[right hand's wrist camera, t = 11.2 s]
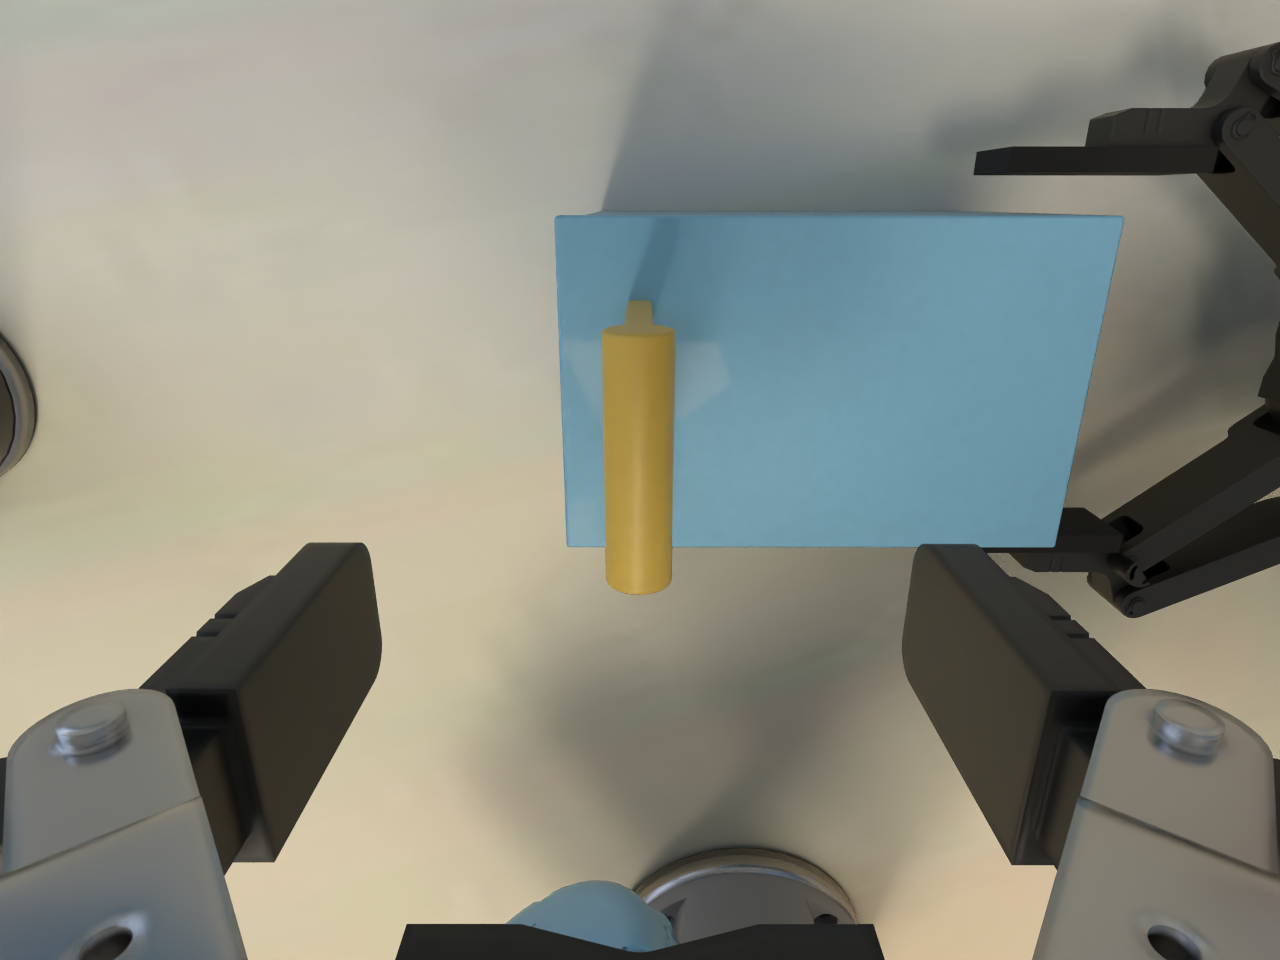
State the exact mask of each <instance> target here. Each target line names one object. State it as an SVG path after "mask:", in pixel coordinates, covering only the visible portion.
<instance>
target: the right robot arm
mask: <svg viewBox="0 0 1280 960" xmlns="http://www.w3.org/2000/svg"><path fill="white" fill-rule="evenodd" d="M34 422H35V411H34V402H33V397H32V393H31V389H30V386H29V383H28V380H27V378H26V375H25V373H24V371H23V369H22V367H21V365H20V363H19V362H18V360H17V358H16V357H15V355H14V354H13V352H12V351H11V350H10V348H9V347H8V345H7V344H6V343H5V342H4V341H3V339H2V338H1V337H0V476H1V475H2V474H4V473H6V472H7V471H9V470H10V469H11V468H12V467H14V466H15V465H16V464H17V463H18V461H19V460H20V459H21V458H22V456H23V455H24V454H25V452H26V450H27V448H28V446H29V444H30V441H31V438H32V434H33V430H34ZM1070 617H1071V616H1070V615H1069V614H1068V613H1067V612H1066V611H1065V610H1064V609H1063V608H1062V607H1061V606H1060V605H1059V604H1058V603H1057V602H1056V601H1055V600H1053V599H1052V598H1051V597H1050V596H1049V595H1048V594H1046V593H1044V592H1042V591H1041V590H1039V589H1037V588H1035V587H1033V586H1031V585H1029V584H1028V583H1026V582H1024V581H1022V580H1020V579H1018V578H1016V577H1009V576H1008V575H1007V574H1006V573H1005V572H1004V571H1003V570H1002V569H1001V568H1000V567H999V566H998V565H997V564H996V563H995V562H994V561H993V560H992V559H991V558H990V557H989V556H988V555H987V554H986V553H985V552H984V551H983V550H982V548H981V547H979V546H978V545H976V544H921V545H920V546H919V547H918V549H917V551H916V553H915V556H914V561H913V567H912V574H911V581H910V588H909V595H908V602H907V609H906V616H905V624H904V631H903V639H902V655H903V663H904V668H905V672H906V675H907V678H908V681H909V683H910V684H911V686H912V688H913V690H914V692H915V693H916V695H917V697H918V699H919V701H920V702H921V704H922V706H923V708H924V709H925V711H926V713H927V715H928V717H929V718H930V720H931V722H932V724H933V726H934V727H935V729H936V731H937V733H938V734H939V736H940V738H941V740H942V742H943V743H944V745H945V747H946V749H947V750H948V752H949V754H950V756H951V758H952V759H953V761H954V763H955V765H956V767H957V768H958V770H959V772H960V774H961V775H962V777H963V779H964V781H965V783H966V784H967V786H968V788H969V790H970V791H971V793H972V795H973V797H974V799H975V800H976V802H977V804H978V806H979V808H980V809H981V811H982V813H983V815H984V816H985V818H986V820H987V822H988V824H989V825H990V827H991V829H992V831H993V832H994V834H995V836H996V838H997V840H998V841H999V843H1000V845H1001V847H1002V849H1003V850H1004V852H1005V854H1006V856H1007V857H1008V859H1009V861H1010V863H1011V865H1054V866H1055V868H1056V869H1057V874H1056V877H1055V881H1054V884H1053V888H1052V892H1051V895H1050V899H1049V902H1048V906H1047V909H1046V913H1045V916H1044V920H1043V923H1042V927H1041V930H1040V934H1039V937H1038V941H1037V944H1036V948H1035V951H1034V955H1033V959H1032V960H1280V760H1279V759H1274V758H1273V757H1272V753H1271V751H1270V749H1269V747H1268V745H1267V744H1266V743H1265V742H1264V740H1263V739H1262V738H1261V737H1260V736H1259V735H1258V734H1257V733H1256V732H1255V731H1254V730H1252V729H1251V728H1250V727H1249V726H1247V725H1246V724H1244V723H1243V722H1242V721H1240V720H1239V719H1237V718H1235V717H1234V716H1232V715H1230V714H1229V713H1227V712H1225V711H1223V710H1221V709H1219V708H1217V707H1214V706H1212V705H1210V704H1207V703H1205V702H1203V701H1200V700H1197V699H1194V698H1191V697H1188V696H1184V695H1181V694H1177V693H1172V692H1167V691H1162V690H1154V689H1146V688H1145V687H1144V686H1143V685H1142V684H1141V683H1140V682H1139V681H1138V680H1137V679H1136V678H1135V677H1134V676H1133V675H1132V674H1130V673H1129V672H1128V671H1127V670H1126V669H1125V668H1124V667H1123V666H1122V665H1121V664H1120V663H1119V662H1118V661H1117V660H1116V659H1115V658H1114V657H1113V656H1112V655H1111V654H1110V653H1109V652H1108V651H1107V650H1106V649H1104V648H1103V647H1102V646H1101V645H1100V644H1099V643H1098V642H1097V641H1096V640H1095V639H1094V638H1089V633H1088V632H1087V631H1086V630H1085V629H1084V628H1083V627H1082V626H1081V625H1080V624H1078V623H1077V622H1076V621H1075V620H1071V618H1070ZM381 653H382V638H381V629H380V622H379V615H378V608H377V601H376V593H375V586H374V579H373V572H372V565H371V559H370V555H369V551H368V549H367V547H366V546H365V545H364V544H363V543H308V544H306V545H305V546H304V547H303V548H302V549H301V550H300V551H299V552H298V553H297V554H296V555H295V556H294V557H293V558H292V559H291V560H290V561H289V562H288V563H287V564H286V565H285V566H284V567H283V568H282V570H281V571H280V572H279V573H278V574H277V575H276V576H268V577H266V578H264V579H262V580H260V581H259V582H257V583H255V584H253V585H251V586H249V587H247V588H246V589H244V590H242V591H240V592H238V593H236V594H235V595H234V596H233V597H232V598H231V599H230V600H229V601H228V602H227V603H226V604H225V605H224V606H223V607H222V608H221V609H220V610H219V611H218V612H217V613H216V614H215V618H214V619H210V620H209V621H208V622H207V623H205V624H204V625H203V626H202V627H201V628H200V629H199V630H198V631H197V636H196V637H191V638H190V639H189V640H188V641H187V642H186V643H185V644H184V645H183V646H182V647H181V648H180V649H179V650H178V651H177V652H176V653H175V654H174V655H172V656H171V657H170V658H169V659H168V660H167V661H166V662H165V663H164V664H163V665H162V666H161V667H160V668H159V669H158V670H157V671H156V672H155V673H154V674H153V675H152V676H151V677H150V678H149V679H148V680H147V681H146V682H145V683H144V684H143V685H142V686H141V687H139V688H138V689H126V690H118V691H113V692H108V693H103V694H99V695H96V696H92V697H89V698H86V699H83V700H80V701H77V702H75V703H73V704H70V705H68V706H66V707H63V708H61V709H59V710H57V711H55V712H53V713H51V714H50V715H48V716H46V717H45V718H43V719H41V720H40V721H38V722H37V723H36V724H34V725H33V726H31V727H30V728H29V729H28V730H26V731H25V732H24V733H23V734H22V735H21V736H20V737H19V738H18V739H17V740H16V742H15V743H14V744H13V745H12V747H11V749H10V751H9V753H8V756H7V757H6V758H1V759H0V960H248V959H247V955H246V951H245V948H244V944H243V941H242V937H241V934H240V930H239V927H238V923H237V920H236V916H235V913H234V909H233V906H232V902H231V899H230V895H229V892H228V888H227V884H226V881H225V877H224V876H225V874H226V872H227V871H228V869H229V867H230V866H231V864H232V863H233V862H275V860H276V858H277V856H278V855H279V853H280V851H281V849H282V847H283V846H284V844H285V842H286V840H287V838H288V837H289V835H290V833H291V831H292V829H293V828H294V826H295V824H296V822H297V820H298V819H299V817H300V815H301V813H302V811H303V810H304V808H305V806H306V804H307V802H308V801H309V799H310V797H311V795H312V793H313V791H314V790H315V788H316V786H317V784H318V782H319V781H320V779H321V777H322V775H323V773H324V772H325V770H326V768H327V766H328V764H329V763H330V761H331V759H332V757H333V755H334V754H335V752H336V750H337V748H338V746H339V745H340V743H341V741H342V739H343V737H344V736H345V734H346V732H347V730H348V728H349V727H350V725H351V723H352V721H353V719H354V717H355V716H356V714H357V712H358V710H359V708H360V707H361V705H362V703H363V701H364V699H365V698H366V696H367V694H368V692H369V690H370V689H371V687H372V685H373V683H374V681H375V679H376V677H377V674H378V671H379V667H380V661H381ZM395 960H885V959H884V956H883V953H882V950H881V947H880V944H879V941H878V938H877V935H876V931H875V928H874V925H873V924H757V925H753V926H749V927H745V928H741V929H737V930H733V931H729V932H725V933H721V934H717V935H713V936H709V937H705V938H702V939H698V940H694V941H690V942H686V943H682V944H678V945H674V946H670V947H666V948H662V949H658V950H654V951H648V952H632V951H626V950H622V949H618V948H614V947H610V946H606V945H602V944H598V943H594V942H590V941H586V940H582V939H578V938H575V937H571V936H567V935H563V934H559V933H555V932H551V931H547V930H543V929H539V928H535V927H531V926H527V925H523V924H407V925H406V928H405V931H404V935H403V938H402V941H401V944H400V947H399V950H398V953H397V956H396V959H395Z"/></svg>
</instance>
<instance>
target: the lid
mask: <svg viewBox="0 0 1280 960" xmlns="http://www.w3.org/2000/svg"><path fill="white" fill-rule="evenodd" d="M1123 223H1124V217H1122V216H1110V215H560V216H556V217H555V244H556V270H557V297H558V324H559V350H560V377H561V404H562V430H563V457H564V484H565V511H566V537H567V546H568V547H606V580H607V582H608V584H609V585H610V587H612V588H613V589H615V590H617V591H619V592H622V593H626V594H634V595H644V594H651V593H655V592H658V591H661V590H663V589H665V588H666V587H667V586H668V585H669V584H670V582H671V579H672V547H919V546H920V545H921V544H976V545H978V546H979V547H1054V546H1055V542H1056V538H1057V533H1058V528H1059V524H1060V519H1061V514H1062V510H1063V505H1064V500H1065V495H1066V491H1067V486H1068V481H1069V477H1070V472H1071V467H1072V463H1073V458H1074V453H1075V448H1076V444H1077V439H1078V434H1079V430H1080V425H1081V420H1082V415H1083V411H1084V406H1085V401H1086V397H1087V392H1088V387H1089V383H1090V378H1091V373H1092V368H1093V364H1094V359H1095V354H1096V350H1097V345H1098V340H1099V336H1100V331H1101V326H1102V321H1103V317H1104V312H1105V307H1106V303H1107V298H1108V293H1109V288H1110V284H1111V279H1112V274H1113V270H1114V265H1115V260H1116V256H1117V251H1118V246H1119V241H1120V237H1121V232H1122V227H1123Z"/></svg>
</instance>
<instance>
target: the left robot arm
mask: <svg viewBox="0 0 1280 960" xmlns="http://www.w3.org/2000/svg"><path fill="white" fill-rule="evenodd" d="M1204 83H1205V86H1206V89H1205V91H1204V93H1203V95H1202V96H1201V98H1200V99H1199V101H1198V102H1197V103H1196V104H1195V105H1194V106H1193V107H1191V108H1131V109H1126V110H1120V111H1115V112H1110V113H1105V114H1103V115H1101V116H1098V117H1096V118H1093V119H1091V120H1090V123H1089V128H1088V133H1087V138H1086V144H1085V147H1007V148H1000V149H993V150H987V151H980V152H977V154H976V161H975V168H974V175H1174V174H1193V173H1197V175H1198V176H1199V177H1200V178H1201V179H1202V180H1203V181H1204V183H1205V184H1206V185H1207V186H1208V187H1209V188H1210V189H1211V191H1212V192H1213V193H1214V194H1215V195H1216V196H1217V197H1218V198H1219V200H1220V201H1221V202H1222V203H1223V204H1224V205H1225V206H1226V208H1227V209H1228V210H1229V211H1230V212H1231V213H1232V214H1233V216H1234V217H1235V218H1236V219H1237V220H1238V221H1239V222H1240V224H1241V225H1242V226H1243V227H1244V228H1245V229H1246V230H1247V231H1248V233H1249V234H1250V235H1251V236H1252V237H1253V238H1254V239H1255V241H1256V242H1257V243H1258V244H1259V245H1260V246H1261V247H1262V249H1263V250H1264V251H1265V252H1266V253H1267V254H1268V255H1269V257H1270V258H1271V259H1272V260H1273V261H1274V262H1275V263H1276V265H1277V267H1276V268H1275V269H1274V273H1275V274H1276V276H1277V277H1278V278H1279V279H1280V42H1278V43H1274V44H1270V45H1266V46H1262V47H1258V48H1254V49H1250V50H1246V51H1242V52H1238V53H1234V54H1230V55H1226V56H1222V57H1220V58H1218V59H1216V60H1215V61H1214V62H1213V63H1212V64H1211V65H1210V66H1209V67H1208V70H1207V72H1206V74H1205V81H1204ZM1258 396H1259V397H1262V398H1265V404H1264V405H1263V406H1261V407H1260V408H1258V409H1257V410H1255V411H1254V412H1252V413H1251V414H1249V415H1247V416H1246V417H1244V418H1243V419H1241V420H1240V421H1238V422H1237V423H1235V424H1234V425H1232V426H1231V427H1230V428H1229V430H1228V437H1227V438H1226V439H1225V440H1224V441H1222V442H1221V443H1219V444H1217V445H1216V446H1214V447H1213V448H1211V449H1210V450H1208V451H1207V452H1205V453H1204V454H1202V455H1200V456H1199V457H1197V458H1196V459H1194V460H1193V461H1191V462H1190V463H1188V464H1186V465H1185V466H1183V467H1182V468H1180V469H1179V470H1177V471H1176V472H1174V473H1173V474H1171V475H1169V476H1168V477H1166V478H1165V479H1163V480H1162V481H1160V482H1159V483H1157V484H1155V485H1154V486H1152V487H1151V488H1149V489H1148V490H1146V491H1145V492H1143V493H1142V494H1140V495H1138V496H1137V497H1135V498H1134V499H1132V500H1131V501H1129V502H1128V503H1126V504H1124V505H1123V506H1121V507H1120V508H1118V509H1117V510H1115V511H1114V512H1112V513H1110V514H1109V515H1107V516H1106V517H1104V518H1103V519H1099V518H1098V517H1096V516H1095V515H1093V514H1092V513H1091V512H1089V511H1088V510H1086V509H1085V508H1063V510H1062V514H1061V519H1060V524H1059V528H1058V533H1057V538H1056V542H1055V546H1054V547H981V548H982V550H983V551H984V552H985V553H1009V554H1010V555H1011V556H1012V557H1013V558H1015V559H1016V560H1017V561H1018V562H1019V563H1020V564H1021V565H1022V566H1023V567H1024V568H1027V569H1029V570H1032V571H1035V572H1049V571H1051V572H1059V571H1061V572H1089V573H1088V576H1087V582H1088V584H1089V585H1090V586H1091V587H1092V588H1093V589H1094V590H1095V591H1096V592H1098V593H1099V594H1100V595H1101V596H1102V597H1104V598H1105V599H1106V600H1107V601H1108V602H1109V603H1111V604H1112V605H1113V606H1114V607H1115V608H1116V609H1118V610H1119V611H1120V612H1121V613H1122V614H1124V615H1125V616H1127V617H1129V618H1137V617H1141V616H1143V615H1146V614H1149V613H1151V612H1154V611H1157V610H1159V609H1162V608H1165V607H1167V606H1170V605H1172V604H1175V603H1178V602H1180V601H1183V600H1186V599H1188V598H1191V597H1193V596H1196V595H1199V594H1201V593H1204V592H1207V591H1209V590H1212V589H1215V588H1217V587H1220V586H1222V585H1225V584H1228V583H1230V582H1233V581H1236V580H1238V579H1241V578H1243V577H1246V576H1249V575H1251V574H1254V573H1257V572H1259V571H1262V570H1265V569H1267V568H1270V567H1272V566H1275V565H1278V564H1280V497H1275V498H1270V499H1266V500H1263V501H1260V502H1257V503H1255V502H1256V501H1258V500H1260V499H1261V498H1263V497H1264V496H1266V495H1268V494H1269V493H1271V492H1272V491H1274V490H1276V489H1277V488H1279V487H1280V322H1279V326H1278V329H1277V332H1276V342H1275V357H1274V359H1273V361H1272V363H1271V364H1270V366H1269V368H1268V370H1267V371H1266V373H1265V375H1264V377H1263V380H1262V383H1261V387H1260V390H1259V394H1258ZM1253 503H1254V504H1253ZM506 924H523V925H527V926H531V927H535V928H539V929H543V930H547V931H551V932H555V933H559V934H563V935H567V936H571V937H575V938H578V939H582V940H586V941H590V942H594V943H598V944H602V945H606V946H610V947H614V948H618V949H622V950H626V951H632V952H648V951H654V950H658V949H662V948H666V947H670V946H674V945H678V944H682V943H686V942H690V941H694V940H698V939H702V938H705V937H709V936H713V935H717V934H721V933H725V932H729V931H733V930H737V929H741V928H745V927H749V926H753V925H757V924H858V923H857V919H856V916H855V913H854V910H853V907H852V905H851V903H850V901H849V899H848V898H847V896H846V895H845V893H844V892H843V891H842V889H841V888H840V887H839V886H838V885H837V884H836V883H835V882H834V881H833V880H832V879H831V878H830V877H829V876H827V875H826V874H825V873H823V872H822V871H821V870H819V869H817V868H816V867H814V866H812V865H811V864H808V863H806V862H804V861H802V860H800V859H797V858H795V857H792V856H789V855H785V854H782V853H778V852H773V851H768V850H760V849H748V848H735V849H722V850H714V851H709V852H704V853H700V854H696V855H693V856H690V857H687V858H684V859H681V860H679V861H677V862H674V863H672V864H670V865H668V866H666V867H664V868H663V869H661V870H659V871H658V872H656V873H655V874H653V875H652V876H650V877H649V878H648V879H647V880H645V881H644V882H643V883H642V884H641V885H640V886H639V887H638V888H637V889H636V890H635V891H634V892H633V891H632V890H630V889H629V888H627V887H624V886H622V885H620V884H617V883H613V882H608V881H586V882H580V883H576V884H572V885H569V886H566V887H563V888H561V889H558V890H557V891H555V892H553V893H552V894H550V895H549V896H548V897H546V898H545V899H543V900H542V901H540V902H534V903H532V904H531V905H529V906H528V907H526V908H525V909H524V910H522V911H521V912H520V913H518V914H517V915H516V916H514V917H513V918H512V919H511V920H510V921H508V922H507V923H506Z"/></svg>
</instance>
